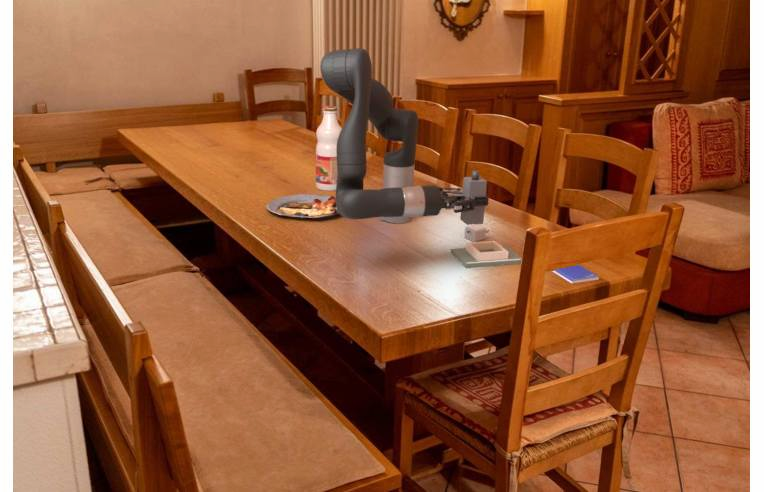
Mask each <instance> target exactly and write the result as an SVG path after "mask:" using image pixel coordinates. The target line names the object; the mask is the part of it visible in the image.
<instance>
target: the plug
mask: <svg viewBox="0 0 764 492" xmlns="http://www.w3.org/2000/svg"><path fill="white" fill-rule="evenodd" d="M487 185H488V180H486V179H484V177H481V176H480V170H475V169H474V170H471V176H464V177H463V181H462V190H463V191H462V195H465V196H466V197H485V196H486V195H487ZM468 205H469V203H468ZM485 207H486V206H475V207H474V210H471V211H465V212H460V216H459V217H460V221H462V222H463V223H464V224H465V225H467V226H471V225H475V224H479V225H483V224H484V218H485V217H484V216H485Z"/></svg>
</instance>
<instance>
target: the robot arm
mask: <svg viewBox="0 0 764 492" xmlns="http://www.w3.org/2000/svg"><path fill="white" fill-rule="evenodd" d="M372 65H373V64H372V59H371V57H370V54H369V53H368V51H367V50H366V49H365V48H362V47H361V48H360V47H359V48H358V47H356V48H349V49H336V50H331V51H329V52H327V53H325V54H324V55H323V57H322V58H321V61H320V65H319V67H320V68H319V69H320V74H321V77H322V80H323V81H324V84H325V85H326V86H327V88H329V89H330V90H331V91H332V92H334V93H336V94H337V95H339V96H341V97H342V98H343V99H345V100H346V101H347V102H348V103H350V104H351V106H352V107H351V109H350V112H349V114H348V117H347V119H346V120H345V123H344V124H343V126H342V127H341V128H342V130H341V132H340V134H339V137H338V140H337V148H336V152H337V172H338V176H337V185H336V191H335V198H336V207H337V210H338V212H339V214H338V215H340V216H341V217H343V218H345V219H349V220H367V219H374V218H380V221H383V222H388V223H391V224H404V223H409V222H411V221H412V219H413V218H415V217H418V218H419V217H434V216H438V215H439V214H440V212H441V210H442V209H445V210H449V211H450V210H451V211H452V210H453V213H455V214H457V213H459V214H460V213H461V212H465V211H471V210H474V207H475V206H485V207H486V206H488V205H489V201H490V200H489V197H488V196H485V197H466V196H465V195H462V191H463V189H461V188H459V187H439V186H437V185H435V184H432V185H431V184H429V185H425V184H424V185H414V184H415V183H414V182H415V179H414V177H415V159H416V154H417V141H418V132H419V115H418V113H417V111H416V110H415V111H414V110H410V109H401V108H394V99H393V96H392V93H391V92H390V91H389V90H388V89H387V88H386V87H385V85H384V84H382V82H380V81H378V80H376V79H375V78H373V67H372ZM368 121H369V122H370V123H371V124H372V125H373V126H374V127H375V129H376V130H377V133H379V135H380V136H381V137H382V138H383V139H385V140H388V141H393V142H394V141H395V142H402V145H401V147H400V148H398V149H394V150H391V151H388V152H385V153H384V154H383V155H384V156H383V166H382V167H383V169H382V170H383V171H382V188H381V189H364V179H365V177H366V174H367V168H368V167H367V130H368V129H367V127H368ZM468 203H469V205H468Z"/></svg>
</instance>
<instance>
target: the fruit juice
mask: <svg viewBox="0 0 764 492" xmlns="http://www.w3.org/2000/svg"><path fill="white" fill-rule="evenodd" d="M322 113H323V116H322V121H321V123H320V124H319V126H318V127H317V129H316V135H315V136H316V140H317V143H316V146H315V186H316V188H317V189H318V190H320V191H325V192H326V191H327V192H334V191H335V192H336V185H337V176H338V172H337V152H336V148H337V140H338V137H339V134H340V132H341V130H342V128H343V127H342V126H341V125H340V124H339V121H338V118H337V113H338V107H337V106H333V105H325V106H322Z"/></svg>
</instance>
